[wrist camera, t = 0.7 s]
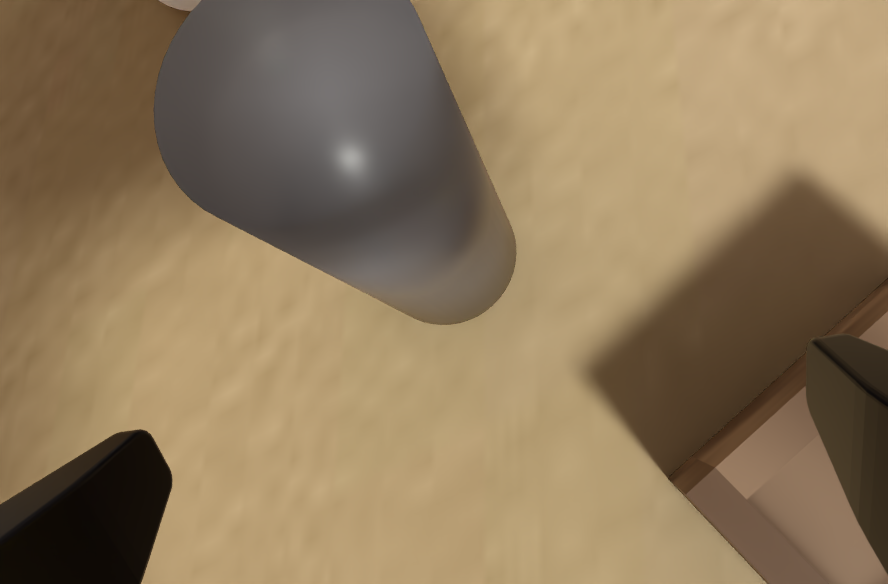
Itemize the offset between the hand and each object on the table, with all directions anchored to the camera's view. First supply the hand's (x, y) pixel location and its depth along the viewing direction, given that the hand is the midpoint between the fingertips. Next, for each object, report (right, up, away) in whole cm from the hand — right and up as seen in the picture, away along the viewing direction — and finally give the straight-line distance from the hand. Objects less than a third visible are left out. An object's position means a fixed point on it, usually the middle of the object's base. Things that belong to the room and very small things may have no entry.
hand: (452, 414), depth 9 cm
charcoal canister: (0, +3, +14) cm, 15 cm away
